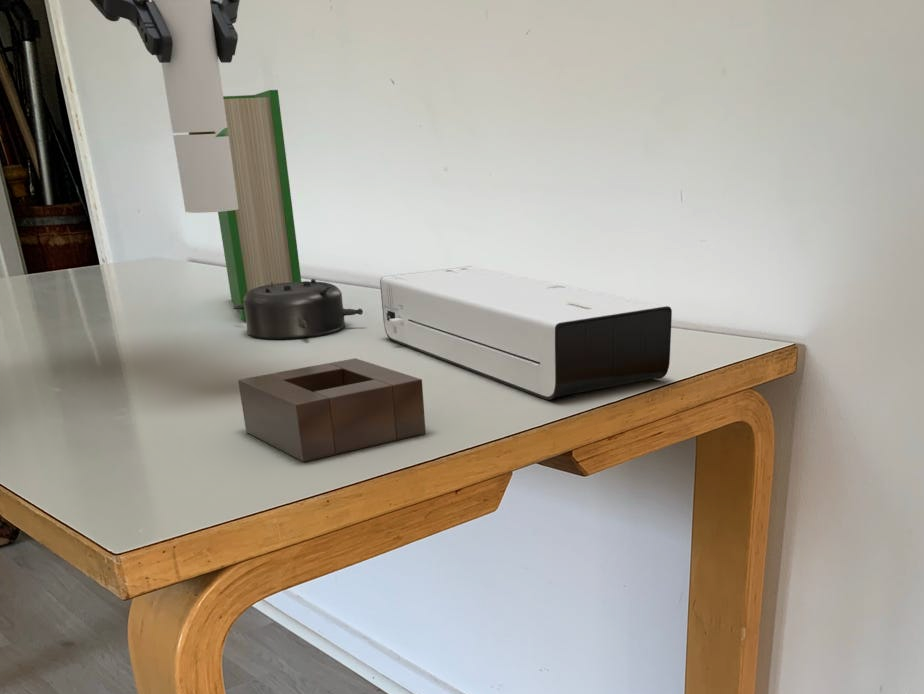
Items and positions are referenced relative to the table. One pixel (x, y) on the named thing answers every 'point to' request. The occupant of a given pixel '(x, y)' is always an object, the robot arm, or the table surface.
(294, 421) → the socket block
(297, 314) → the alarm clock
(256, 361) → the table surface
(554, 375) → the laminator
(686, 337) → the table surface
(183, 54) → the tube
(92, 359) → the table surface
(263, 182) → the hardback book
